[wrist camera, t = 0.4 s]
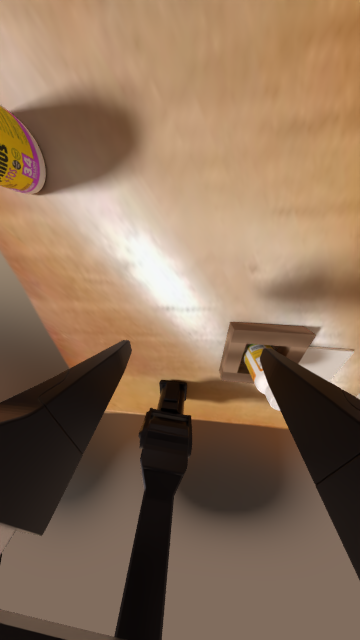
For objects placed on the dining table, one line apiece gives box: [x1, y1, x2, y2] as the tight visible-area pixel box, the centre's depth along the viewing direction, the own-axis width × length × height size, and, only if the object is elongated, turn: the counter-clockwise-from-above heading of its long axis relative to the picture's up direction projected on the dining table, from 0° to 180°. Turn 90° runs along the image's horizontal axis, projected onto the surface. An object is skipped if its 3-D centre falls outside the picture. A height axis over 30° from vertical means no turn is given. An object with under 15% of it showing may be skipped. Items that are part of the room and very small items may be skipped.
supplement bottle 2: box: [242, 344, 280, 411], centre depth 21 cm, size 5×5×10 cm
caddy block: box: [219, 322, 316, 384], centre depth 24 cm, size 12×12×2 cm
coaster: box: [299, 347, 354, 382], centre depth 26 cm, size 9×9×1 cm
